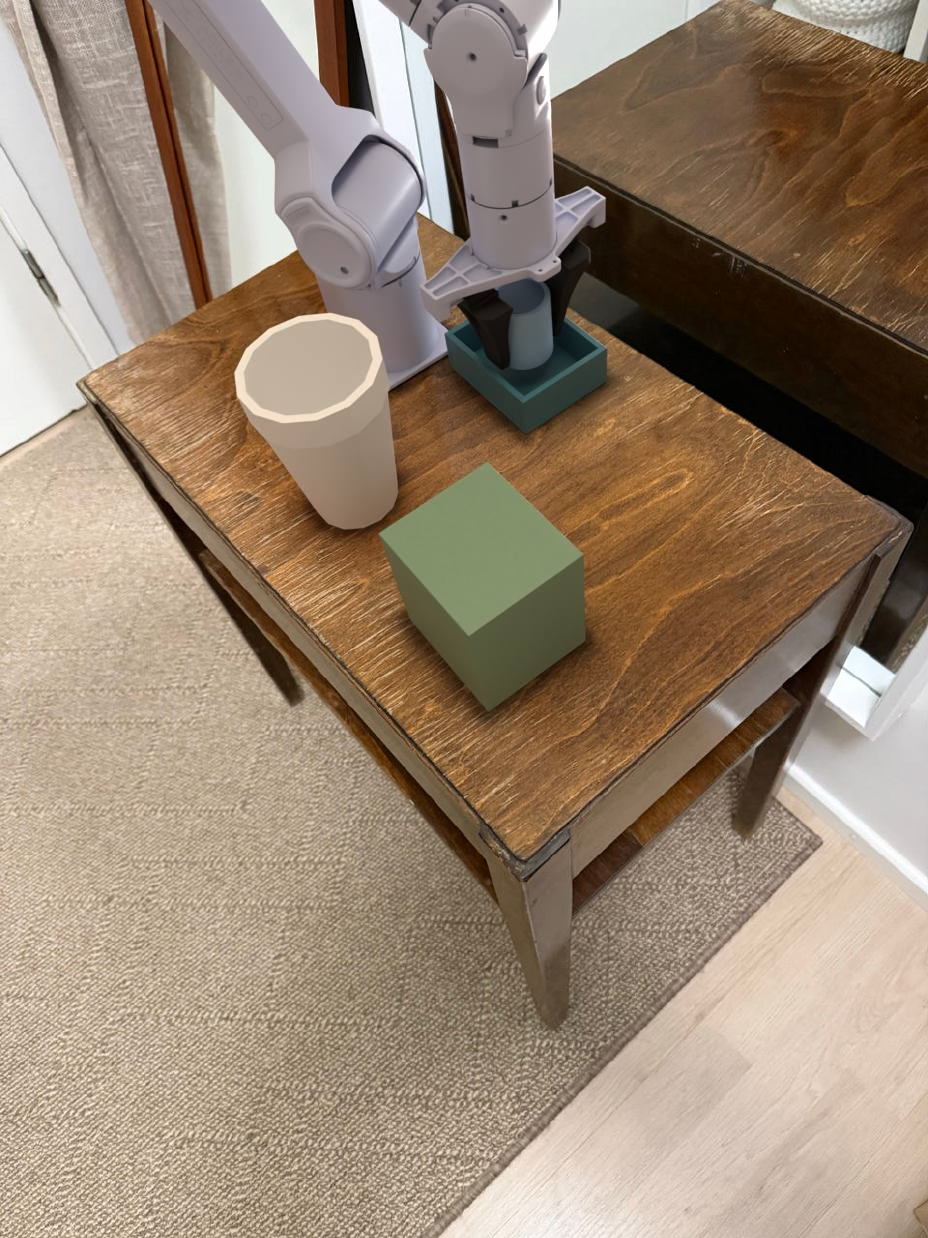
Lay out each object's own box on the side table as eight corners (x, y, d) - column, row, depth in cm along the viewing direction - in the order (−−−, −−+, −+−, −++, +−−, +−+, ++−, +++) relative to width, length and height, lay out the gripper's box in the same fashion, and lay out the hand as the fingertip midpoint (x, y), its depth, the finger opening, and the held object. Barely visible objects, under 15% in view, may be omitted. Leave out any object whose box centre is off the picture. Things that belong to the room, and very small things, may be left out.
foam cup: (354, 429, 69) (308, 294, 58) (443, 479, 66) (412, 346, 54) (270, 510, 66) (204, 384, 55) (359, 568, 62) (307, 446, 51)
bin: (450, 366, 71) (443, 333, 68) (527, 317, 73) (524, 283, 70) (526, 434, 67) (522, 403, 64) (607, 381, 68) (607, 348, 65)
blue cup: (484, 348, 68) (477, 295, 64) (529, 320, 69) (524, 266, 65) (519, 378, 66) (514, 326, 62) (565, 349, 67) (562, 295, 63)
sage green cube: (409, 618, 60) (377, 533, 51) (502, 554, 61) (486, 461, 53) (488, 712, 56) (468, 636, 47) (586, 640, 57) (584, 554, 49)
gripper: (453, 264, 52) (479, 422, 64) (638, 154, 55) (631, 324, 67) (388, 212, 56) (424, 371, 67) (566, 110, 59) (571, 280, 70)
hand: (523, 344), depth 67 cm, fingers closed on blue cup, 4 cm apart
